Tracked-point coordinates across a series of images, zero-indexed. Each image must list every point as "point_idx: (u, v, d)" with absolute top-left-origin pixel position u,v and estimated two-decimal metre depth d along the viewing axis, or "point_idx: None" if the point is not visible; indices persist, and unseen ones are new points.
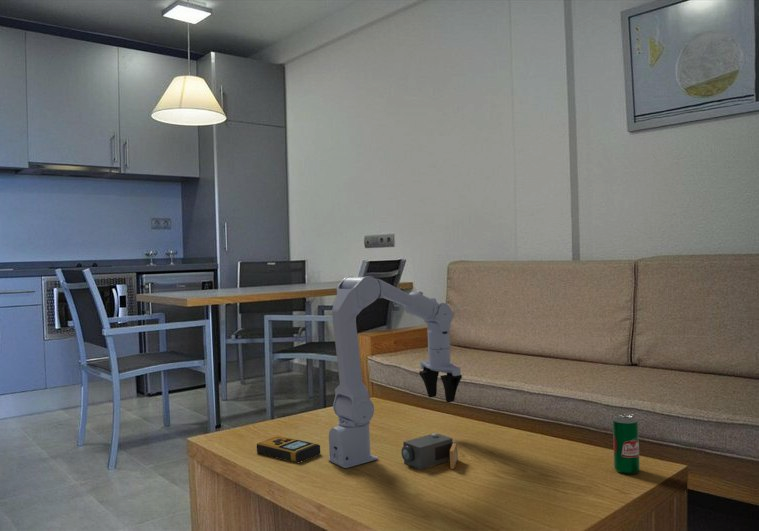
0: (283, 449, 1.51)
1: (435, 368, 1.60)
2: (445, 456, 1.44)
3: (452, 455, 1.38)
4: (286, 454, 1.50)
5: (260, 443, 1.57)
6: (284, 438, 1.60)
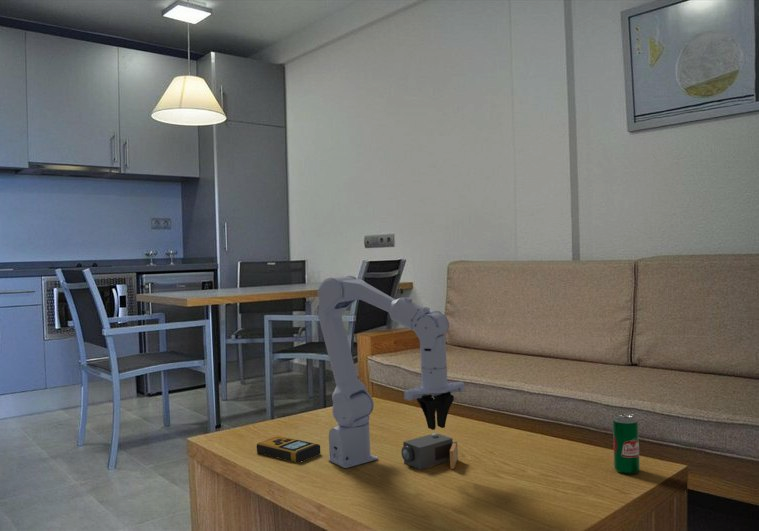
0: (283, 449, 1.51)
1: None
2: (445, 456, 1.44)
3: (452, 455, 1.38)
4: (286, 453, 1.50)
5: (260, 443, 1.57)
6: (284, 438, 1.60)
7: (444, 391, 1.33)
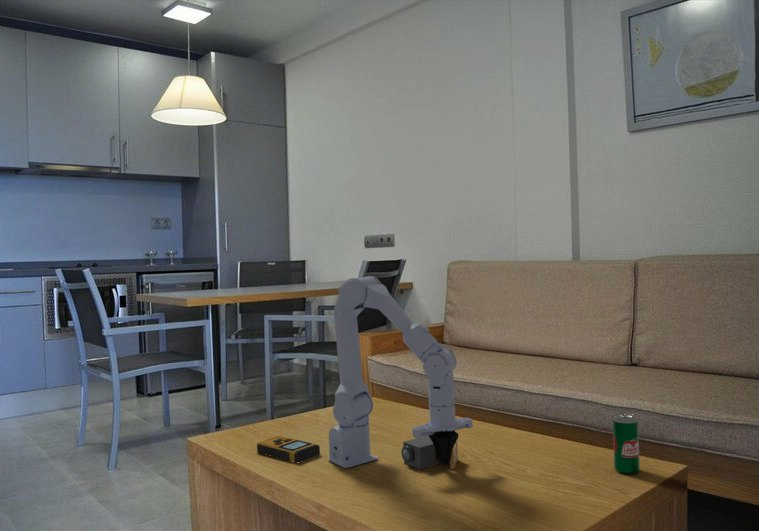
0: (282, 449, 1.51)
1: None
2: None
3: (452, 455, 1.38)
4: (285, 454, 1.50)
5: (260, 443, 1.57)
6: (284, 438, 1.60)
7: (452, 429, 1.34)
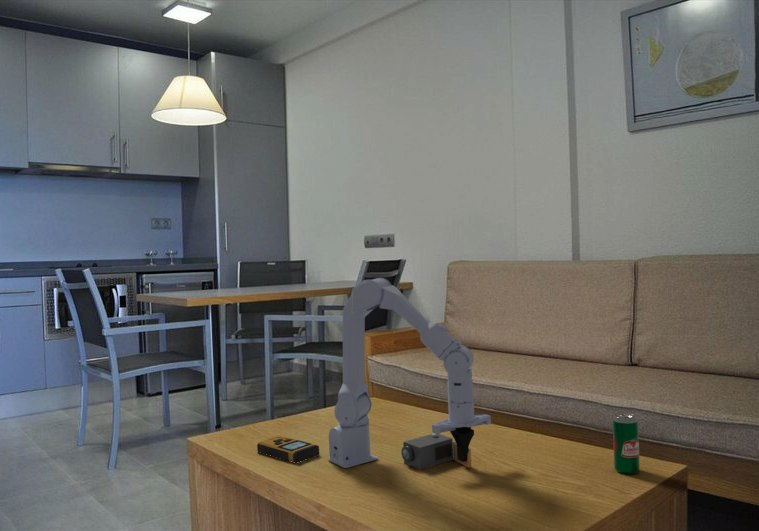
0: (282, 449, 1.51)
1: None
2: (445, 456, 1.44)
3: (469, 454, 1.39)
4: (284, 454, 1.50)
5: (260, 443, 1.57)
6: (285, 438, 1.60)
7: (471, 425, 1.36)
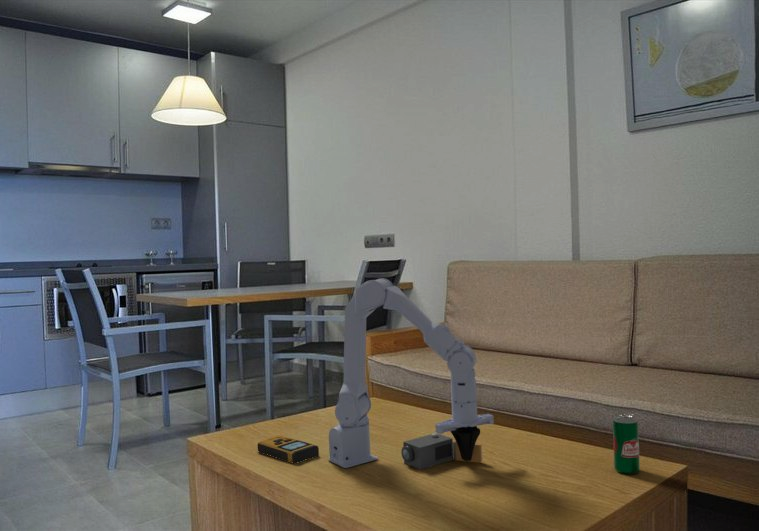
0: (281, 449, 1.51)
1: None
2: (445, 456, 1.44)
3: (481, 448, 1.42)
4: (283, 454, 1.50)
5: (261, 442, 1.57)
6: (285, 438, 1.60)
7: (475, 425, 1.37)
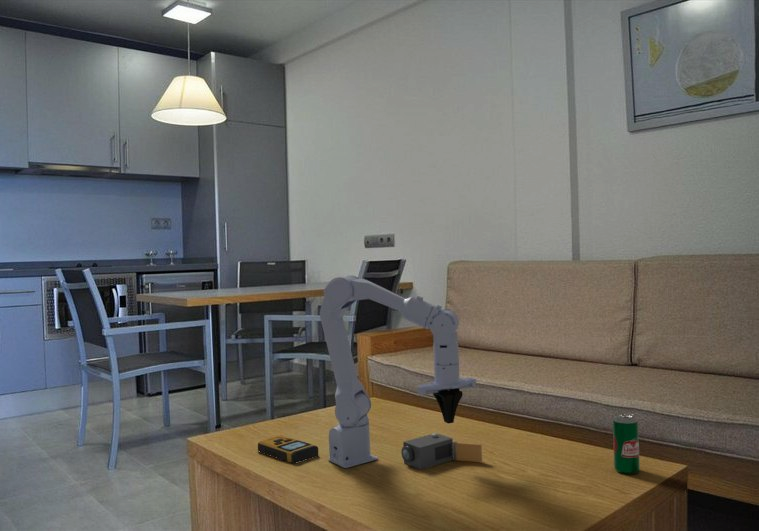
0: (281, 449, 1.51)
1: None
2: (445, 456, 1.44)
3: (481, 448, 1.42)
4: (282, 454, 1.50)
5: (261, 442, 1.57)
6: (286, 438, 1.60)
7: (456, 386, 1.38)
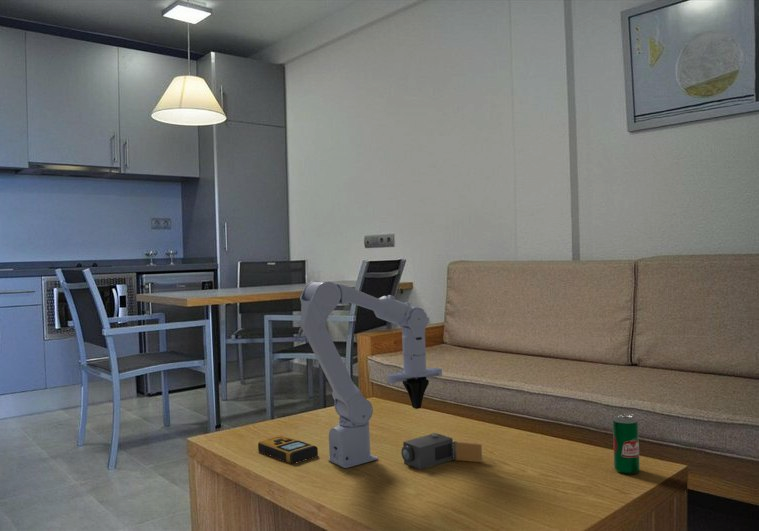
0: (280, 449, 1.51)
1: None
2: (445, 456, 1.44)
3: (481, 448, 1.42)
4: (282, 454, 1.50)
5: (261, 442, 1.58)
6: (286, 438, 1.60)
7: (423, 375, 1.52)
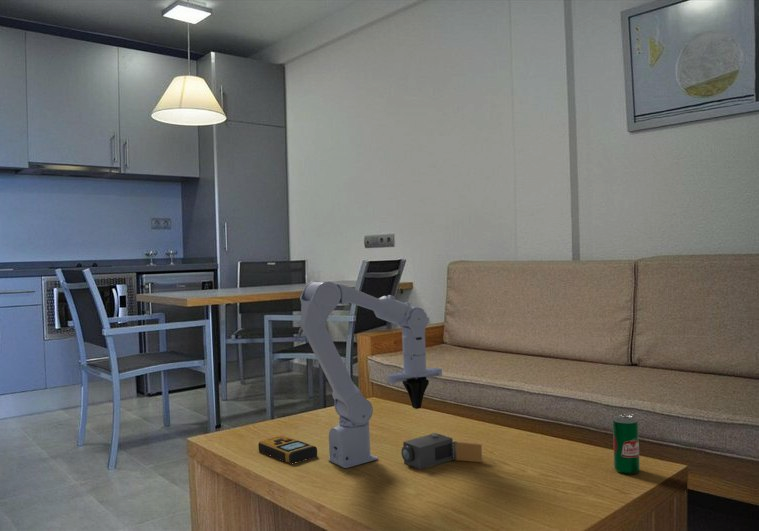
0: (279, 449, 1.51)
1: None
2: (445, 456, 1.44)
3: (481, 448, 1.42)
4: (281, 454, 1.50)
5: (261, 442, 1.58)
6: (286, 438, 1.60)
7: (423, 375, 1.52)
